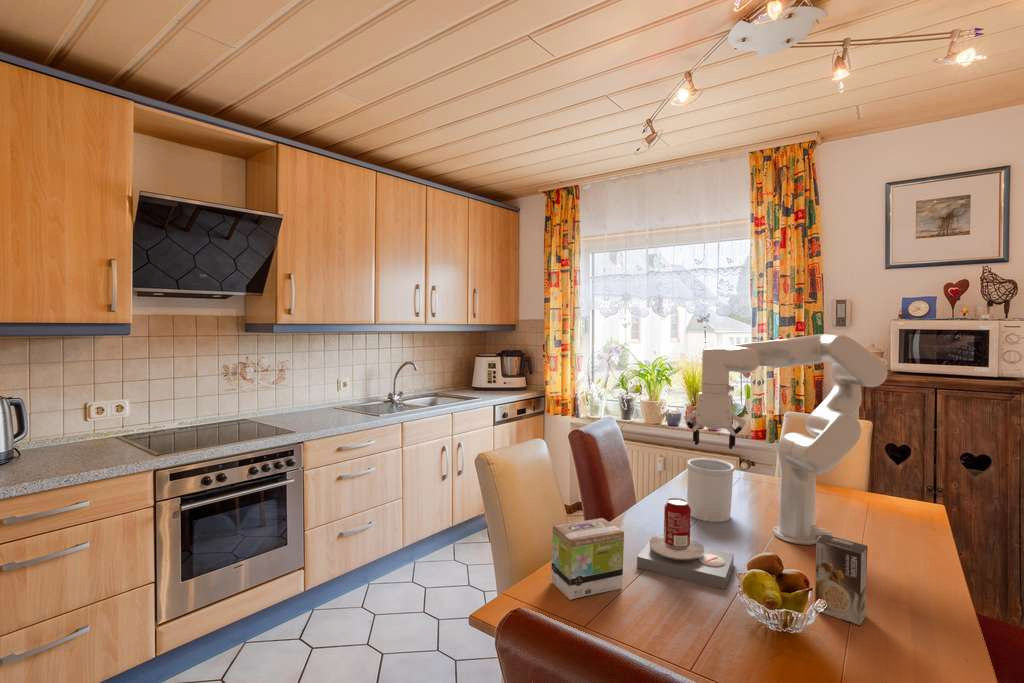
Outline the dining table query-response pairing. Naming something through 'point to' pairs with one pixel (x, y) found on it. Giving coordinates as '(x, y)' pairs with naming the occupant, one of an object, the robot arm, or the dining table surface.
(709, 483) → the utensil holder
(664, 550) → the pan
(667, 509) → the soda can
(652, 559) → the scale
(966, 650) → the dining table surface
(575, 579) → the tea box
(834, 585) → the coffee box
